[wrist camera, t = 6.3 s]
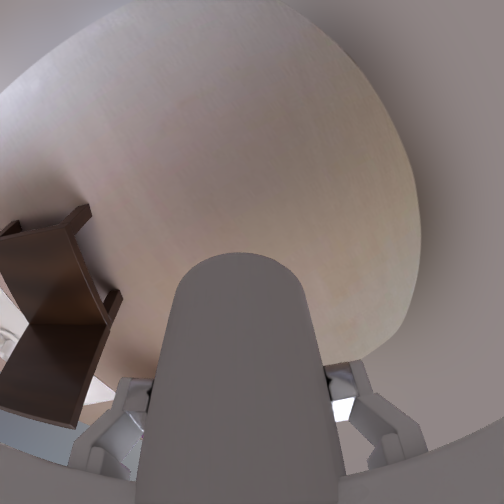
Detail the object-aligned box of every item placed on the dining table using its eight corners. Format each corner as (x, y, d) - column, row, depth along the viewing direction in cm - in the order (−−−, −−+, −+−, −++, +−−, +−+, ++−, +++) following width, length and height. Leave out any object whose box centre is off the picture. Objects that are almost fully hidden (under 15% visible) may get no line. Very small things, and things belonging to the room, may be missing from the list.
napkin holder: (82, 406, 55) (75, 425, 50) (45, 377, 50) (36, 397, 45) (122, 397, 52) (117, 421, 47) (81, 364, 46) (72, 389, 42)
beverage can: (317, 252, 14) (404, 529, 4) (286, 345, 17) (314, 551, 7) (178, 235, 13) (100, 537, 3) (176, 335, 17) (146, 548, 6)
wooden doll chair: (11, 221, 32) (-79, 316, 14) (88, 203, 31) (-15, 322, 14) (49, 303, 39) (-8, 406, 22) (123, 300, 39) (75, 430, 21)
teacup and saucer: (-10, 330, 43) (-18, 344, 39) (3, 320, 41) (-7, 335, 38) (18, 359, 47) (11, 372, 44) (33, 352, 45) (25, 367, 42)
